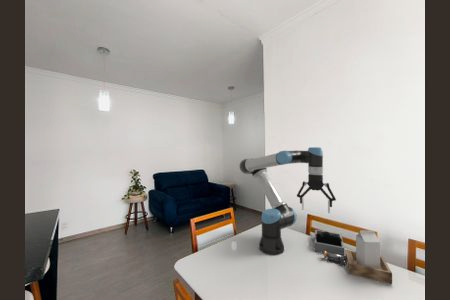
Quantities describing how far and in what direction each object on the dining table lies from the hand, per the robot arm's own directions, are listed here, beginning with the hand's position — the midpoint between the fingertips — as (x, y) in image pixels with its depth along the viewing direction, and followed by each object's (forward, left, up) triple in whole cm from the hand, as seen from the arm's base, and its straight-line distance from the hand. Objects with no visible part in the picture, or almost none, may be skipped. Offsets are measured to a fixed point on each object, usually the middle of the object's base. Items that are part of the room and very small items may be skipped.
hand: (315, 210), depth 108 cm
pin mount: (+10, 0, -26) cm, 28 cm away
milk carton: (+24, -2, -26) cm, 35 cm away
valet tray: (+7, +17, -26) cm, 32 cm away
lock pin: (+9, 0, -26) cm, 27 cm away
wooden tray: (+24, -2, -26) cm, 36 cm away
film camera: (+6, +17, -26) cm, 32 cm away
